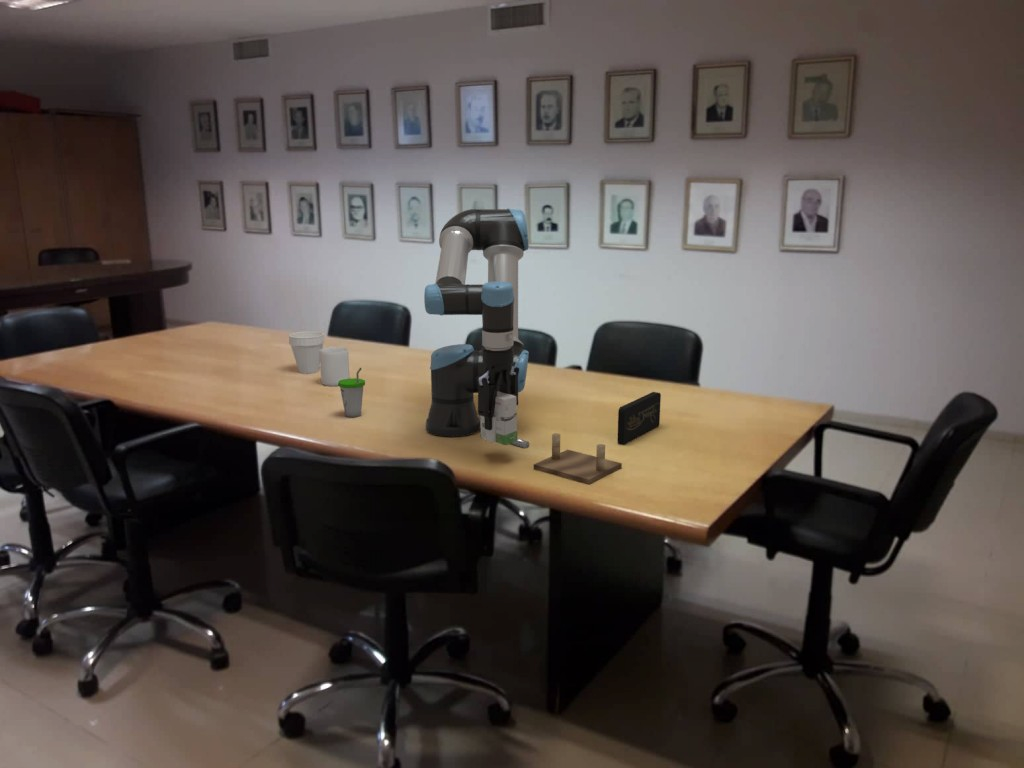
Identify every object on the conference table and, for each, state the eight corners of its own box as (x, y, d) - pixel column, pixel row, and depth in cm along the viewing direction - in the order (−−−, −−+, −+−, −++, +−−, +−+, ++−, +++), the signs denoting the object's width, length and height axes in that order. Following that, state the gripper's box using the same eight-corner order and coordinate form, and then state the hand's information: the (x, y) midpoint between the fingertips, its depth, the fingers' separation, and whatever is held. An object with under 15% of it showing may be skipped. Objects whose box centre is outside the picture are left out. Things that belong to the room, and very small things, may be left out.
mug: (337, 388, 270) (335, 353, 267) (309, 383, 276) (307, 350, 273) (355, 381, 278) (353, 348, 275) (328, 377, 284) (326, 345, 281)
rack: (533, 468, 195) (533, 440, 193) (567, 454, 205) (567, 426, 204) (588, 484, 185) (589, 454, 183) (621, 467, 196) (622, 439, 194)
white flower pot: (288, 369, 296) (285, 332, 292) (322, 366, 301) (319, 330, 297) (294, 377, 285) (292, 338, 282) (329, 373, 290) (327, 335, 287)
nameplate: (653, 425, 230) (654, 391, 227) (659, 426, 228) (660, 392, 226) (617, 444, 213) (618, 407, 211) (623, 445, 212) (624, 409, 210)
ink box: (518, 440, 200) (518, 395, 197) (504, 446, 197) (504, 399, 193) (493, 432, 206) (492, 388, 203) (479, 437, 202) (478, 392, 199)
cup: (337, 413, 241) (335, 364, 237) (364, 410, 244) (361, 362, 240) (342, 420, 234) (339, 369, 230) (369, 417, 237) (366, 367, 233)
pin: (506, 441, 216) (501, 442, 215) (507, 434, 216) (502, 434, 215) (528, 448, 211) (523, 448, 209) (529, 441, 211) (524, 441, 209)
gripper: (484, 356, 186) (485, 451, 192) (533, 342, 199) (533, 431, 206) (460, 351, 190) (462, 444, 197) (510, 338, 204) (510, 425, 210)
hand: (498, 437), depth 201 cm, fingers closed on ink box, 5 cm apart
